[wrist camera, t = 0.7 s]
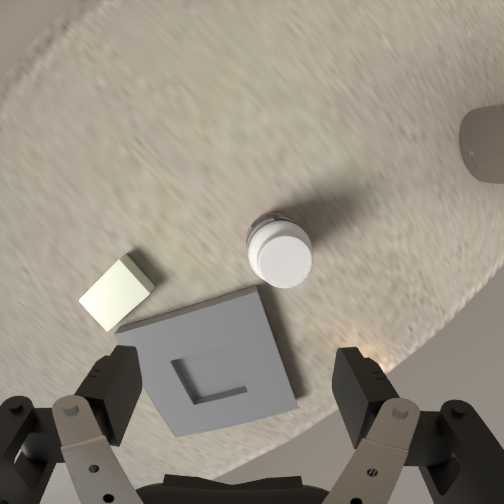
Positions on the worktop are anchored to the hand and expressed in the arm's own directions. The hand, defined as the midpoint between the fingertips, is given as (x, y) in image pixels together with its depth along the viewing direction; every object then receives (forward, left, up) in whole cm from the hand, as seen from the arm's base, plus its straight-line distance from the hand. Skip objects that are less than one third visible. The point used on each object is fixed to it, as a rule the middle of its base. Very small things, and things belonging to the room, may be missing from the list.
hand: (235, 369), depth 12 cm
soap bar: (+13, 0, -21) cm, 25 cm away
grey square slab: (+7, +12, -20) cm, 25 cm away
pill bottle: (-4, 0, -21) cm, 21 cm away
